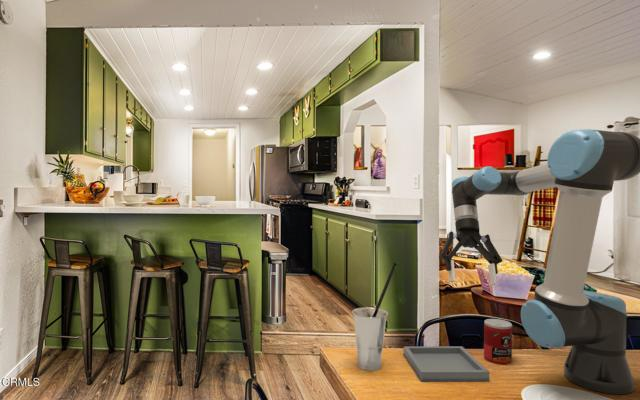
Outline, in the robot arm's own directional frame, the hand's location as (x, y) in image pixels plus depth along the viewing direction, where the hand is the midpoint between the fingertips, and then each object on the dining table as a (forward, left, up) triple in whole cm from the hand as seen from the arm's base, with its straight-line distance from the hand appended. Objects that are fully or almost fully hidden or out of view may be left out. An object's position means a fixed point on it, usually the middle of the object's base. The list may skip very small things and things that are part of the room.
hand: (473, 282), depth 127 cm
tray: (-9, +18, -21) cm, 29 cm away
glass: (-2, +37, -21) cm, 43 cm away
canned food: (-9, -1, -21) cm, 23 cm away
